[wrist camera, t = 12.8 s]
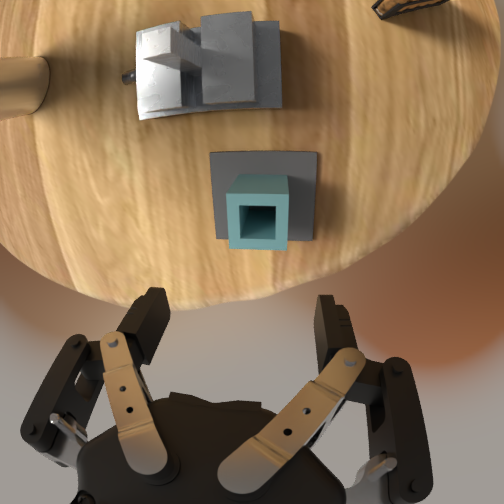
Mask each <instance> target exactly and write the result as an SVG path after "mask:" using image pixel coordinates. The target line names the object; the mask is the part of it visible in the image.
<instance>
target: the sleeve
mask: <svg viewBox="0 0 504 504" xmlns="http://www.w3.org/2000/svg"><path fill="white" fill-rule="evenodd" d="M226 201H227V219H228V236H229V249H258V250H287V235H288V209H289V190H288V179H287V175H254V174H239V175H238V176H237V178H236V179H235V181H234V182H233V184H232V185H231V187H230V188H229V190H228V191H227V193H226ZM249 206H276V211H261V210H249Z"/></svg>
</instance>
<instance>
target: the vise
mask: <svg viewBox="0 0 504 504" xmlns="http://www.w3.org/2000/svg"><path fill="white" fill-rule="evenodd" d="M122 81H123V83H124V84H125V85H128V84H132V83H136V82H137V101H138V114H139V118H140V120H145V119H153V118H159V117H166V116H173V115H180V114H188V113H197V112H207V111H219V110H235V109H282V81H281V51H280V29H279V21H254V18H253V15H252V12H251V11H247V12H234V13H224V14H216V15H209V16H202V17H201V27H197V28H191V29H189V28H188V27H187V26H186V25H184V24H183V23H182V22H181V21H176V22H171V23H167V24H163V25H159V26H155V27H151V28H148V29H144V30H141V31H138V32H136V69H133V70H130V71H126V72H124V73H123V74H122Z"/></svg>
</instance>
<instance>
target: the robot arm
mask: <svg viewBox="0 0 504 504" xmlns="http://www.w3.org/2000/svg"><path fill="white" fill-rule="evenodd" d="M49 76H50V73H49V66H48V63H47V61H46V60H45V59H44V58H42V57H3V58H0V121H2V120H6V119H10V118H14V117H19V116H23V115H28V114H31V113H33V112H35V111H36V110H37V109H38V107H39V106H40V105H41V103H42V101H43V100H44V97H45V95H46V92H47V89H48V84H49ZM169 320H170V307H169V304H168V300H167V296H166V292H165V289H164V288H158V287H150V288H149V289H148V291H147V292H146V294H145V295H144V296H143V295H141V296H140V297H139V298H138V299H136V300H135V301H134V303H133V304H132V306H131V308H130V309H129V310H128V312H127V314H126V315H125V317H124V318H123V320H122V322H121V323H120V325H119V326H118V328H117V330H116V331H114V332H110V333H107V334H106V335H104V336H103V338H102V339H101V341H89V342H88V340H87V338H86V337H85V336H84V335H82V334H76V335H73V336H71V337H70V338H69V339H68V340H67V341H66V342H65V344H64V346H63V347H62V349H61V351H60V353H59V354H58V356H57V358H56V359H55V361H54V363H53V364H52V366H51V368H50V370H49V371H48V373H47V375H46V377H45V379H44V380H43V382H42V384H41V386H40V388H39V390H38V392H37V394H36V396H35V398H34V400H33V402H32V404H31V406H30V408H29V410H28V412H27V414H26V416H25V418H24V420H23V423H22V425H21V429H20V432H21V436H22V438H23V440H24V441H25V442H27V443H28V444H29V445H31V446H32V447H33V448H34V449H35V450H37V451H38V452H39V453H41V454H42V455H43V456H45V457H46V458H48V459H49V460H51V461H54V462H56V463H57V464H58V465H60V466H62V467H72V468H74V469H76V470H77V473H78V492H77V495H76V497H75V498H74V500H73V501H72V502H71V503H70V504H415V503H417V502H420V501H422V500H423V499H425V498H426V497H427V496H428V495H429V494H430V492H431V490H432V488H433V474H432V466H431V458H430V452H429V445H428V440H427V434H426V428H425V423H424V418H423V414H422V409H421V405H420V401H419V396H418V392H417V389H416V385H415V381H414V377H413V373H412V370H411V367H410V365H409V363H408V362H407V361H405V360H404V359H402V358H399V357H391V358H389V359H387V360H386V361H385V362H384V363H380V362H375V361H371V360H368V359H366V358H365V356H364V354H363V353H362V352H361V351H359V350H358V347H357V343H356V339H355V335H354V332H353V327H352V323H351V321H350V316H349V313H348V311H347V309H346V308H345V307H344V306H343V305H335V301H334V297H333V295H318V297H317V304H316V310H315V317H314V333H315V342H316V350H317V361H318V372H319V376H318V377H317V378H316V379H315V380H314V381H309V382H308V383H307V384H306V385H305V386H304V387H303V388H302V389H301V390H300V391H299V393H298V394H297V395H296V396H295V397H294V398H293V399H292V400H291V401H290V402H289V403H288V404H287V405H286V406H285V407H284V409H282V411H281V412H280V413H279V414H278V415H277V414H275V413H273V412H272V411H269V410H267V409H263V408H261V402H254V401H253V402H252V401H239V400H237V401H229V402H221V403H211V402H208V401H206V400H203V399H200V398H198V397H195V396H193V395H188V394H181V393H176V392H170V395H169V398H161V399H158V400H155V401H153V399H152V397H151V395H150V392H149V390H148V387H147V385H146V382H145V380H144V377H143V374H142V372H141V370H140V367H141V365H142V364H146V365H150V363H151V361H152V358H153V356H154V354H155V351H156V349H157V347H158V345H159V342H160V340H161V338H162V336H163V333H164V331H165V329H166V327H167V325H168V322H169ZM79 372H81V375H80V376H79V378H78V380H77V383H76V385H75V380H76V378H77V375H78V374H79ZM104 382H105V386H106V390H107V394H108V398H109V402H110V405H111V409H112V412H113V416H114V419H115V421H116V425H115V426H113V427H112V428H110V429H108V430H107V431H105V432H103V433H102V434H100V435H99V436H97V437H95V438H94V439H92V440H90V441H89V442H88V441H87V432H86V430H85V429H86V426H87V424H88V421H89V419H90V416H91V413H92V411H93V408H94V406H95V403H96V401H97V398H98V396H99V394H100V391H101V389H102V386H103V384H104ZM347 401H353V402H358V403H363V404H365V406H366V415H367V426H368V439H369V455H370V460H369V461H368V462H366V463H365V464H364V465H363V466H362V467H361V468H360V469H359V470H358V472H357V475H356V480H355V482H354V484H353V486H352V487H350V488H346V489H345V488H344V486H343V484H342V483H341V482H340V480H339V479H338V478H337V477H336V476H335V475H334V474H333V473H332V472H331V471H330V470H329V469H328V468H327V467H326V466H325V465H324V464H323V463H322V462H321V461H320V460H319V459H318V457H316V455H315V454H314V453H313V452H312V451H311V448H312V447H313V446H314V445H315V444H316V442H317V441H318V440H319V439H320V438H321V436H322V435H323V434H324V432H325V431H326V429H327V428H328V426H329V425H330V424H331V422H332V421H333V420H334V418H335V417H336V416H337V414H338V413H339V411H340V410H341V409H342V408H343V406H344V405H345V403H346V402H347Z"/></svg>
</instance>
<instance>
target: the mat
mask: <svg viewBox="0 0 504 504" xmlns="http://www.w3.org/2000/svg"><path fill="white" fill-rule="evenodd" d="M316 167H317V152H307V151H226V152H210V168H211V182H212V194H213V206H214V218H215V229H216V239H229V236H228V219H227V201H226V193H227V191H228V190H229V188H230V187H231V185H232V184H233V182H234V181H235V179H236V178H237V176H238V175H239V174H254V175H287V179H288V190H289V209H288V235H287V240H291V241H312V238H313V224H314V209H315V191H316ZM249 210H261V211H276V206H249Z"/></svg>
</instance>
